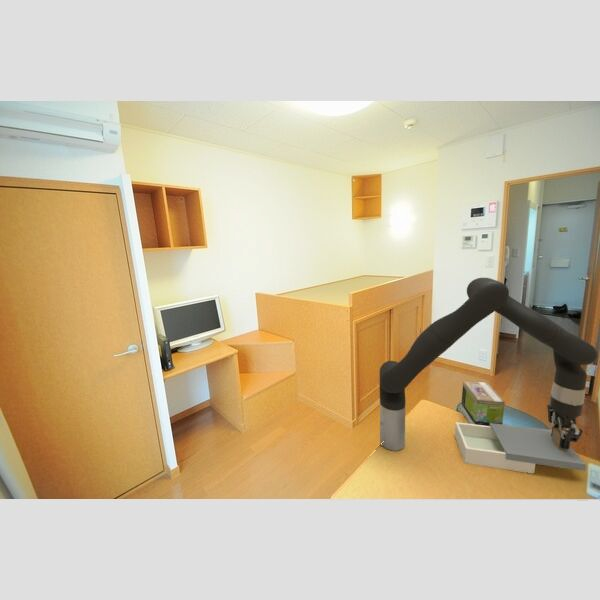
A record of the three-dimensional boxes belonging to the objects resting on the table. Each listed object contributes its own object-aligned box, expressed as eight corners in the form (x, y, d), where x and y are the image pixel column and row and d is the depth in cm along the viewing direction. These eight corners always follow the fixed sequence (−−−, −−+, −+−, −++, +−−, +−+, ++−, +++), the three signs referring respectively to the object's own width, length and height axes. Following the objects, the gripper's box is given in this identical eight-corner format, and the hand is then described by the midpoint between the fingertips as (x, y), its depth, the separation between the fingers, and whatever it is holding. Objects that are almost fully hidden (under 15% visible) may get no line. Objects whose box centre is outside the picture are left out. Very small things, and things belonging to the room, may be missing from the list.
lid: (506, 459, 88) (508, 440, 87) (488, 428, 103) (490, 411, 101) (585, 471, 82) (588, 450, 81) (554, 436, 96) (557, 418, 95)
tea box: (502, 434, 105) (506, 401, 102) (474, 432, 107) (476, 400, 104) (484, 411, 119) (487, 381, 116) (460, 409, 121) (462, 380, 118)
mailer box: (464, 463, 93) (466, 448, 92) (454, 435, 106) (455, 422, 105) (534, 473, 87) (536, 458, 86) (514, 443, 100) (515, 429, 99)
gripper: (540, 384, 94) (534, 427, 97) (566, 409, 80) (559, 457, 84) (567, 386, 91) (560, 430, 95) (598, 412, 78) (589, 461, 82)
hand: (559, 442), depth 89 cm, fingers closed on lid, 4 cm apart
